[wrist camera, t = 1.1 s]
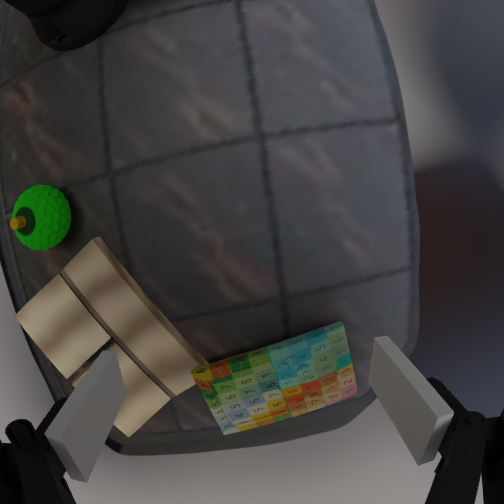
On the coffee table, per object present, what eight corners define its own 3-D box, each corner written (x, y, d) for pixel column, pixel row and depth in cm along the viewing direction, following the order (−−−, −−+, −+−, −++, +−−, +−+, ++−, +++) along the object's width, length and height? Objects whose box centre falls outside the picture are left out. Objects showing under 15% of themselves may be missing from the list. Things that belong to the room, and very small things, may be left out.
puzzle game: (360, 396, 39) (223, 439, 39) (350, 378, 44) (224, 418, 44) (347, 327, 36) (190, 377, 36) (335, 313, 41) (193, 359, 41)
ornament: (51, 172, 36) (6, 173, 26) (92, 204, 37) (51, 212, 27) (28, 222, 37) (-16, 234, 27) (66, 254, 38) (25, 274, 28)
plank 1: (19, 314, 34) (14, 315, 32) (61, 274, 38) (58, 273, 36) (68, 374, 37) (66, 378, 34) (110, 335, 40) (111, 337, 38)
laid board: (68, 267, 38) (59, 272, 36) (99, 235, 38) (91, 239, 35) (175, 388, 43) (172, 398, 40) (211, 365, 42) (209, 375, 40)
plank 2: (73, 379, 37) (71, 384, 35) (115, 340, 40) (116, 343, 38) (127, 431, 39) (128, 437, 37) (168, 393, 42) (171, 398, 40)
